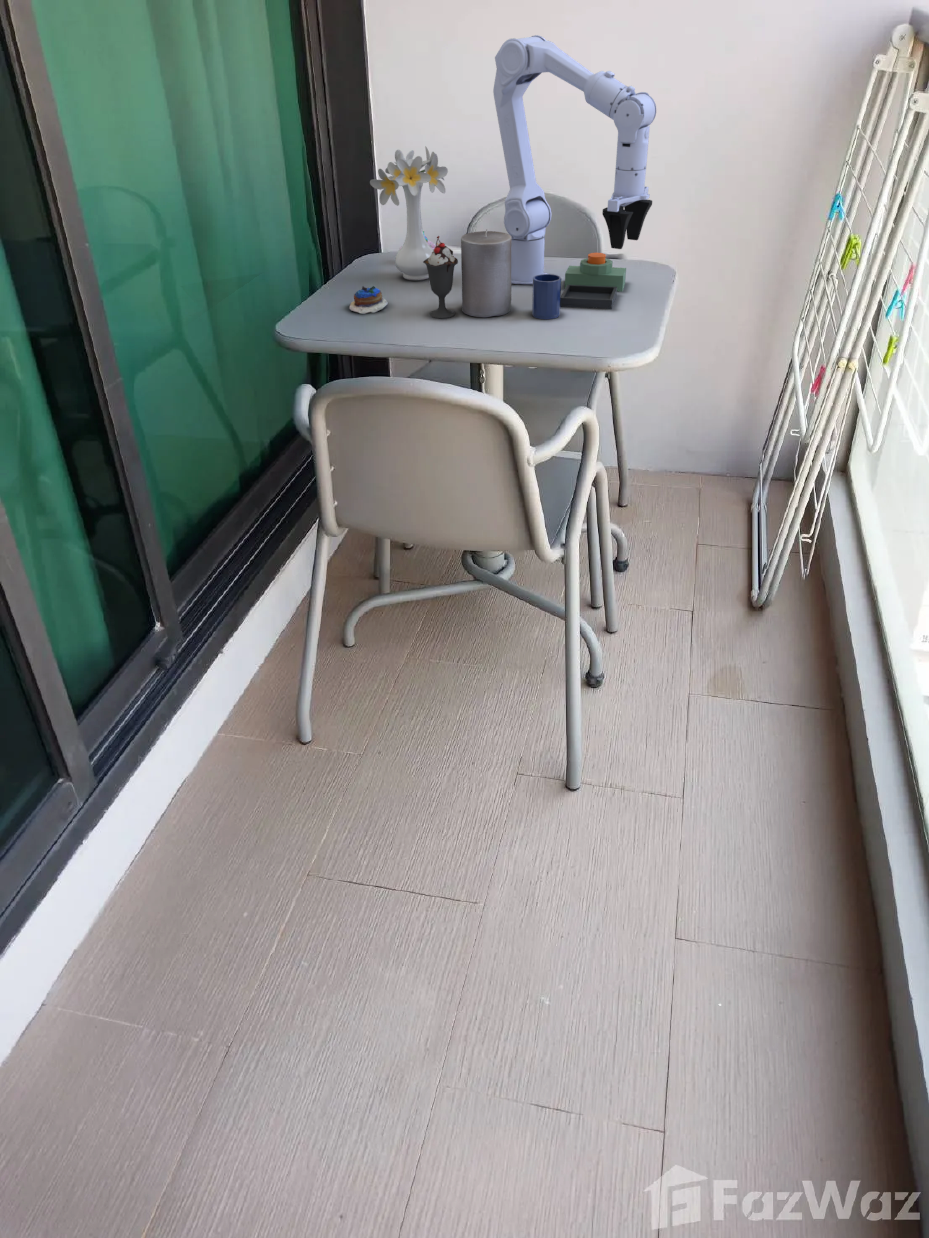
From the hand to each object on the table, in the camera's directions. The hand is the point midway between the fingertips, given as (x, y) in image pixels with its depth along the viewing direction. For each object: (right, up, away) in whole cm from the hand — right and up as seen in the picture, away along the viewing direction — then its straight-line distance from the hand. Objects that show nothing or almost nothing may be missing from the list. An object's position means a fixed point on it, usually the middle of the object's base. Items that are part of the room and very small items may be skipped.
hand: (624, 244), depth 178 cm
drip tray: (-7, -10, +3) cm, 13 cm away
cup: (-16, -15, -3) cm, 22 cm away
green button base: (-4, -4, +11) cm, 13 cm away
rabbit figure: (-42, +10, +33) cm, 55 cm away
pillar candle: (-27, -13, 0) cm, 30 cm away
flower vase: (-42, +1, +20) cm, 47 cm away
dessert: (-51, -12, +3) cm, 53 cm away
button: (-4, 0, +9) cm, 10 cm away
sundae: (-36, -15, -1) cm, 39 cm away
